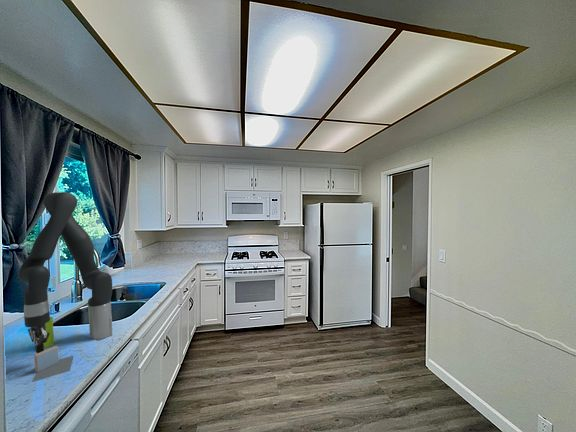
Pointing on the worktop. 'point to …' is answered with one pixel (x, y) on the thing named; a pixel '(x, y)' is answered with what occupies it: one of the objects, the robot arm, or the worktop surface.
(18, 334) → the worktop surface
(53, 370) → the mat
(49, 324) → the soap dispenser
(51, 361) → the tile
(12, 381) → the worktop surface
